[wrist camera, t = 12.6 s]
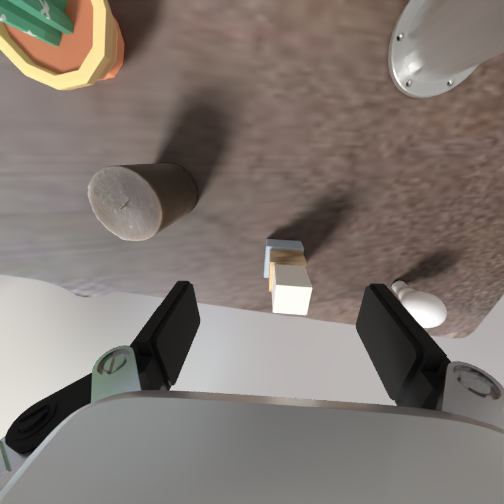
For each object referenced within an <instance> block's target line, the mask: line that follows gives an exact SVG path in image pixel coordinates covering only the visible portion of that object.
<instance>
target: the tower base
mask: <svg viewBox="0 0 504 504" xmlns="http://www.w3.org/2000/svg"><path fill="white" fill-rule="evenodd" d="M270 249H274V250H302V252H304V247H303V245H302V243H301V241H291V240H276V239H267V240H266V252H265V264H264V278H269V252H270Z"/></svg>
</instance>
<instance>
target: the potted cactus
mask: <svg viewBox="0 0 504 504" xmlns="http://www.w3.org/2000/svg"><path fill="white" fill-rule="evenodd" d="M124 46H125V44H124V41H123V37H122V34H121V31H120V28H119V25H118V22H117V20H116V19H115V18H114V17H113V15H112V13H111V9H110V6H109V3H108V0H0V50H1V51H2V52H3V53H4V54H5V55H6V56H7V57H8V58H9V59H10V60H11V61H12V62H13V63H14V64H15V65H16V66H17V67H18V68H19V69H20V70H21V71H22V72H23V73H24V74H25V75H26V76H28V77H30V78H33V79H35V80H37V81H40V82H42V83H44V84H47V85H49V86H51V87H53V88H56V89H58V90H72V89H76V88H80V87H85V86H89V85H93V84H95V82H96V81H97V80H104V79H108V78H112V77H115V76H116V74H117V73H118V71H119V70H120V68H121V67H122V65H123V60H124Z"/></svg>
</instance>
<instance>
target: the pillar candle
mask: <svg viewBox="0 0 504 504" xmlns="http://www.w3.org/2000/svg"><path fill="white" fill-rule="evenodd" d="M88 190H89V191H88V198H89V201H90V203H91V205H92V209H93V212H94V213H95V214H96V217H97V219H98V220H99V221H100V222H101V223H102V224H103V225H104V226H105V227H106V228H107V229H108V230H110V231H111V232H112V233H113V234H115V235H117V236H119V237H120V238H121V239H123V240H133V241H141V240H146V239H148V238H150V237H152V236H154V235H155V234H157V233H158V232H160V231H161V230H163V229H164V228H166V227H168V226H169V225H171V224H172V223H174V222H175V221H177V220H178V219H180V218H182V217H183V216H185V215H187V214H188V213H190V212H191V211H192V209H193V208H194V207H195V204H196V202H197V198H198V193H197V191H198V190H197V186H196V183H195V181H194V179H193V177H192V176H191V174H189V173H188V172H187V171H186V170H185V169H184V168H183V167H181V166H179V165H176V164H172V163H159V164H138V165H119V166H108V167H105V168H103V169H101V170H99V171H98V172H97V173H96V174H95V175H94V176H93V177H92V180H91V182H90V184H89V186H88Z"/></svg>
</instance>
